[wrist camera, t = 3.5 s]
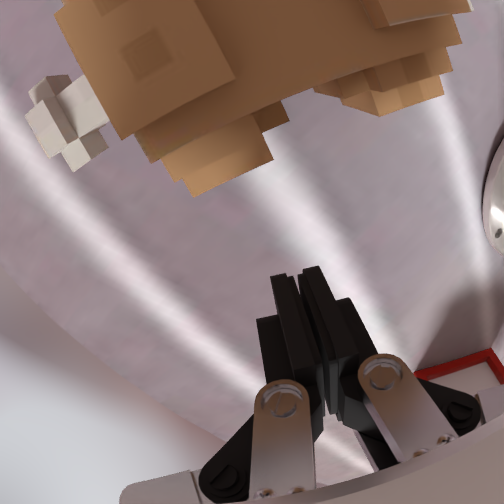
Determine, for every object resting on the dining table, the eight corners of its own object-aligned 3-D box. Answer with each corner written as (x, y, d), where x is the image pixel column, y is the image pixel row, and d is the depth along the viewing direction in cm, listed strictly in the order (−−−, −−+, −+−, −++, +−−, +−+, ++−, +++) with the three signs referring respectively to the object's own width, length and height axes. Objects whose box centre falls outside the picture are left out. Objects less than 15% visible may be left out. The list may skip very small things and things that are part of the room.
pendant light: (389, 423, 35) (443, 618, 9) (414, 371, 29) (500, 618, 3) (458, 401, 35) (523, 571, 9) (490, 347, 29) (585, 547, 3)
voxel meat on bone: (65, 42, 13) (-63, 42, 4) (358, -77, 10) (449, -149, 1) (145, 184, 18) (77, 291, 9) (426, 65, 15) (558, 87, 6)
